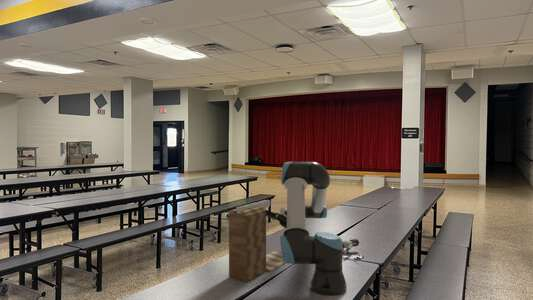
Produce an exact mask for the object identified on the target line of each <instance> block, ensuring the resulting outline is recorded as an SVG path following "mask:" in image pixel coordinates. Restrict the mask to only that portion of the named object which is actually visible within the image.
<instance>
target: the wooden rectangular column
mask: <svg viewBox="0 0 533 300" xmlns="http://www.w3.org/2000/svg"><path fill="white" fill-rule="evenodd" d="M266 210H267V209H266ZM266 210H263V206H260V207H256V208H253V209H249V210H245V211H242V212H241V214H236V208H235V209H232V210H231V211H230V212H229V213H228V278H230V279H234V280H238V281H241V282H245V283H247V282H249V281H251V280H253V279H255V278H257V277H258V276H260V275H261V274H264V273H265V272H267V270H266V255H267V216H266Z"/></svg>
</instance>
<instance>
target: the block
mask: <svg viewBox="0 0 533 300" xmlns="http://www.w3.org/2000/svg"><path fill="white" fill-rule="evenodd" d="M260 206H263V208H266V209H267V208H269V207H271V200H270V199H269V200H268V199H263V200H259V201H255V202H252V203H248V204H244V205H239V206H237V207H236V206H235V209H236V214H241V212H242V211H245V210H249V209H253V208H256V207H260Z"/></svg>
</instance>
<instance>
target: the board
mask: <svg viewBox="0 0 533 300" xmlns="http://www.w3.org/2000/svg"><path fill="white" fill-rule="evenodd" d="M285 264H286V263H284V262H283V260H282V253H281V251H278V250H274V251H271V252H269V253H266V272H272V271H274V270H276V269H278V268H280V267H281V266H283V265H285Z"/></svg>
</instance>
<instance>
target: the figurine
mask: <svg viewBox="0 0 533 300" xmlns="http://www.w3.org/2000/svg"><path fill="white" fill-rule="evenodd" d="M359 245H360V241H359V239H357V238H354V239H349V240H348V241H347V240H342V247H343V250H342V252H343V253H344V255H347V253H348V252H349V251H350V250H351V249H352V248H353V247H358V246H359Z"/></svg>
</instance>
